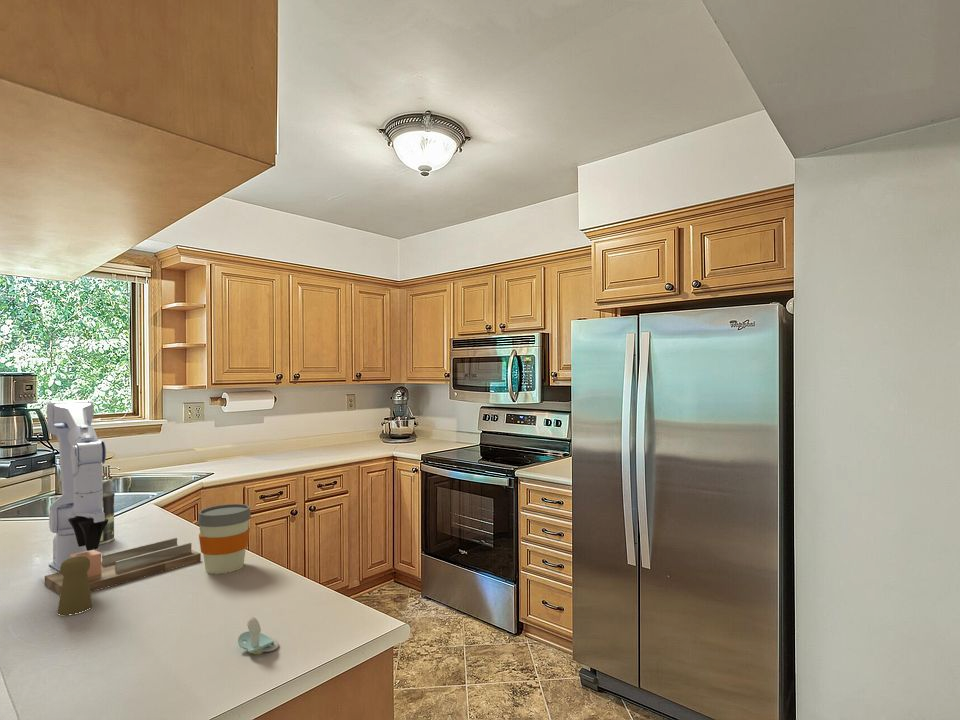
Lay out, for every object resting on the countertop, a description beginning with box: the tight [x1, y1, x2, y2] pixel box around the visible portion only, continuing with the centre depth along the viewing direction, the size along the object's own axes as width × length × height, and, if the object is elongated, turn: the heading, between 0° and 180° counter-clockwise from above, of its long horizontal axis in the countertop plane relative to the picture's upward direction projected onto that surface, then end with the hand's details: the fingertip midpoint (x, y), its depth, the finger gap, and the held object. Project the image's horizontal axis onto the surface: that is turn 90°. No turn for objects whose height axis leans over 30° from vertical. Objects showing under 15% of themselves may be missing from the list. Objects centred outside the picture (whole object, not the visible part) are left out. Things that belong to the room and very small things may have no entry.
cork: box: [57, 556, 93, 615], centre depth 117 cm, size 6×6×11 cm
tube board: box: [44, 537, 202, 595], centre depth 139 cm, size 15×30×4 cm, turn 144°
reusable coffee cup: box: [197, 503, 252, 575], centre depth 141 cm, size 13×13×15 cm
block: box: [69, 549, 102, 577], centre depth 132 cm, size 5×5×5 cm
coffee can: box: [99, 491, 115, 546], centre depth 165 cm, size 10×10×14 cm
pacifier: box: [237, 616, 280, 655], centre depth 99 cm, size 7×6×6 cm
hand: (88, 547), depth 132 cm, fingers open, 5 cm apart
